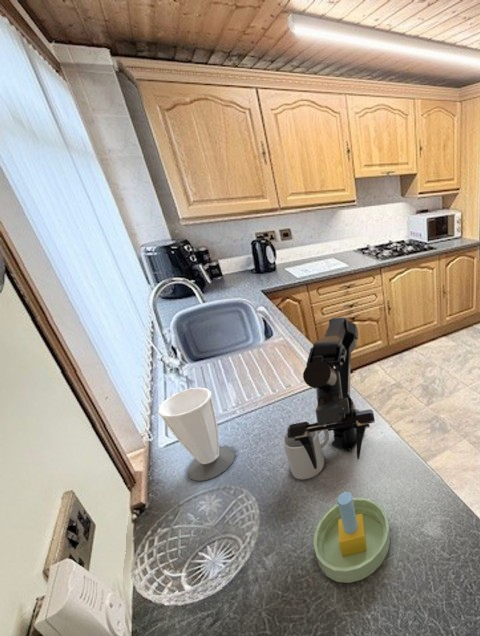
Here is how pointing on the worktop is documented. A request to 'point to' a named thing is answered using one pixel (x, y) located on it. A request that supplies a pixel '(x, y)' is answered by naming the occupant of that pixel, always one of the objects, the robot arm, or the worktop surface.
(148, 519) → the worktop surface
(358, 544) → the sponge wand
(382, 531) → the bowl
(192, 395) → the cup
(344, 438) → the robot arm
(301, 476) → the mug
